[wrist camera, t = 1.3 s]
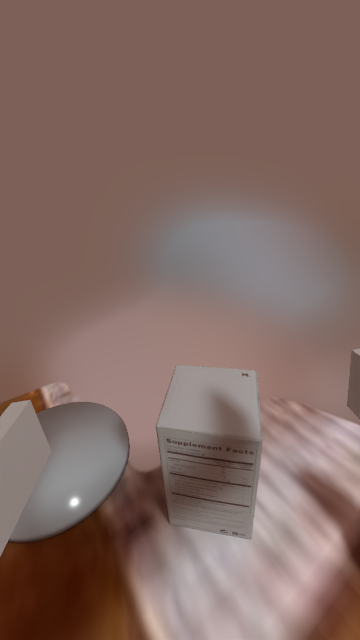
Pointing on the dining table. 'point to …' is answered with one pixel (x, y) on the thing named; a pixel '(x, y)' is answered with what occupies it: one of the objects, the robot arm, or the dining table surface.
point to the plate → (74, 469)
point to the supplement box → (211, 449)
